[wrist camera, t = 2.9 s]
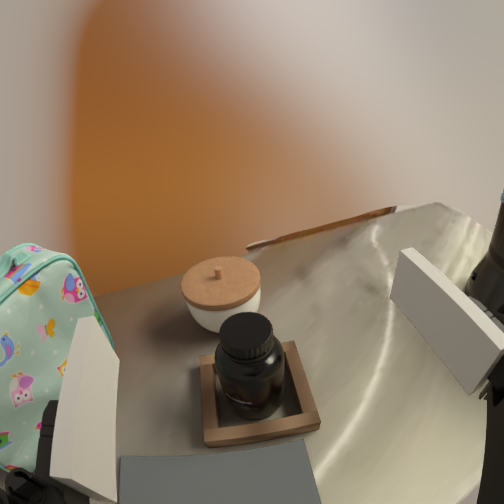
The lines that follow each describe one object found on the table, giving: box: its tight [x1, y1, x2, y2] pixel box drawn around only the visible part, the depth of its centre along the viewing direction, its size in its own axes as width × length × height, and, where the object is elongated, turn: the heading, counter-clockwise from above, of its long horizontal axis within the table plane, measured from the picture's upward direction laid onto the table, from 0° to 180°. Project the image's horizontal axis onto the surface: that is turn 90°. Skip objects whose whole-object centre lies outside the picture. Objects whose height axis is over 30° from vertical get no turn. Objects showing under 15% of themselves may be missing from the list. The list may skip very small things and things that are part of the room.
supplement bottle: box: [214, 312, 284, 419], centre depth 29 cm, size 7×7×12 cm
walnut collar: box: [200, 341, 321, 448], centre depth 32 cm, size 12×12×2 cm
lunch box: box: [0, 243, 114, 473], centre depth 24 cm, size 27×10×21 cm, turn 160°
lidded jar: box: [181, 257, 261, 333], centre depth 41 cm, size 11×11×9 cm
